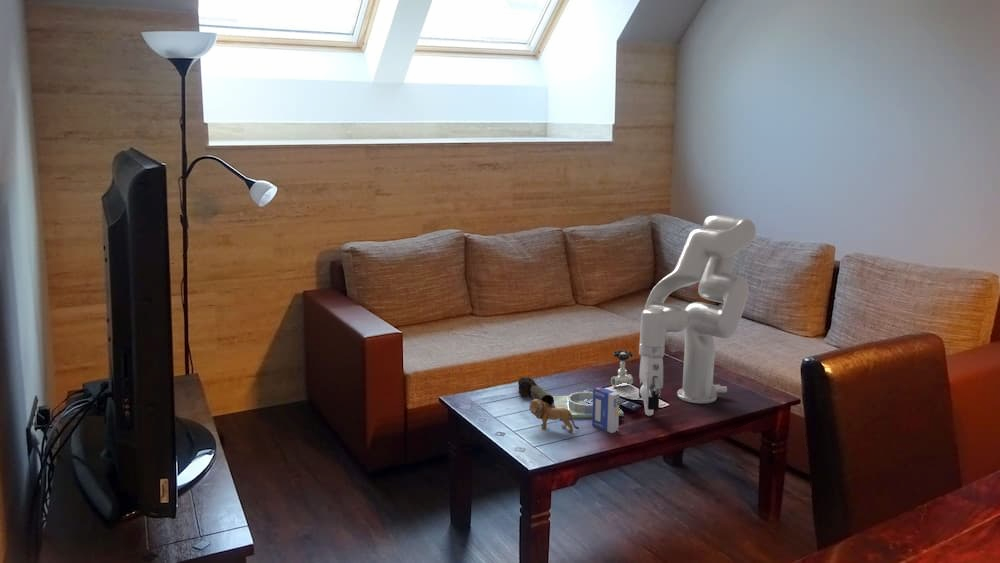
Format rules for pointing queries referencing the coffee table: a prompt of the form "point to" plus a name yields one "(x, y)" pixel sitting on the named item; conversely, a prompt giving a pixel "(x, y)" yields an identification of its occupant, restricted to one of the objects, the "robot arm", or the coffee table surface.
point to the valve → (622, 369)
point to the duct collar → (577, 404)
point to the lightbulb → (646, 399)
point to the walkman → (605, 409)
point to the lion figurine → (551, 414)
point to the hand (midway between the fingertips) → (648, 403)
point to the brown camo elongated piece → (533, 390)
